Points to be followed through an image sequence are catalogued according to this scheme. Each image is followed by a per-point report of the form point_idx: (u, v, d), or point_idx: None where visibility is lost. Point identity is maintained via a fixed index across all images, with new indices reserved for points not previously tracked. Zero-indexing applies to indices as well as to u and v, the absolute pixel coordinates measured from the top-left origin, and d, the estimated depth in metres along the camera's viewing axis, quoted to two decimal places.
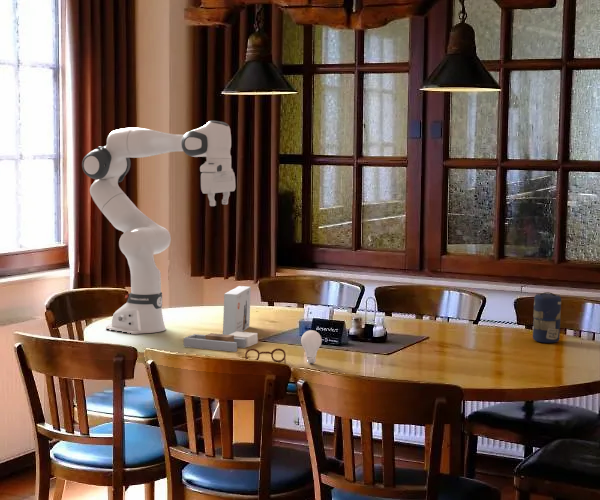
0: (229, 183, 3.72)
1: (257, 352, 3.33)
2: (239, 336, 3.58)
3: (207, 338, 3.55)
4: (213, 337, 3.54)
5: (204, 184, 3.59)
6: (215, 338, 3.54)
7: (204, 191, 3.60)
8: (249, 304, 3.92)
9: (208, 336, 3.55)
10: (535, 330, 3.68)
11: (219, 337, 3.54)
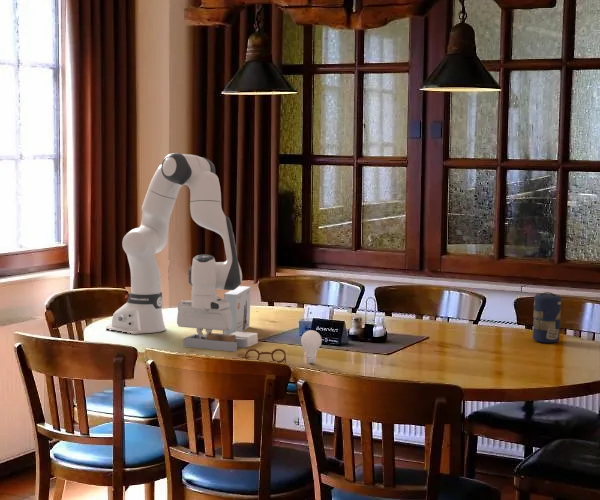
0: None
1: (257, 352, 3.32)
2: (239, 336, 3.58)
3: (208, 338, 3.55)
4: (215, 337, 3.54)
5: (228, 321, 3.53)
6: (216, 337, 3.54)
7: (229, 328, 3.53)
8: (249, 304, 3.92)
9: (209, 336, 3.55)
10: (535, 330, 3.68)
11: (221, 337, 3.53)
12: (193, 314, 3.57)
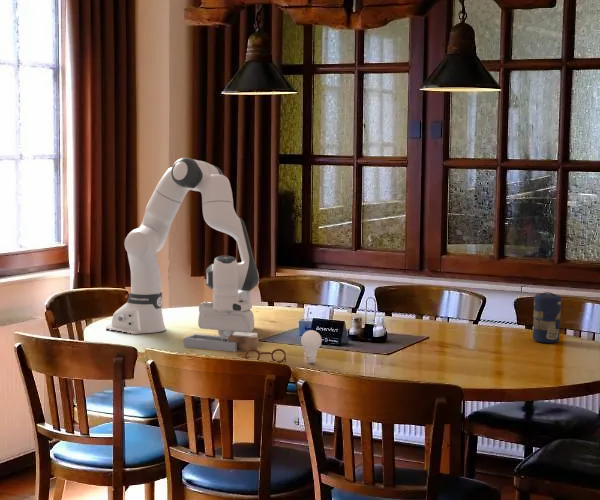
0: None
1: None
2: None
3: (230, 340, 3.52)
4: (236, 339, 3.51)
5: (251, 323, 3.50)
6: (238, 339, 3.51)
7: (251, 330, 3.50)
8: None
9: (231, 338, 3.52)
10: (535, 330, 3.68)
11: (242, 339, 3.50)
12: (215, 316, 3.54)
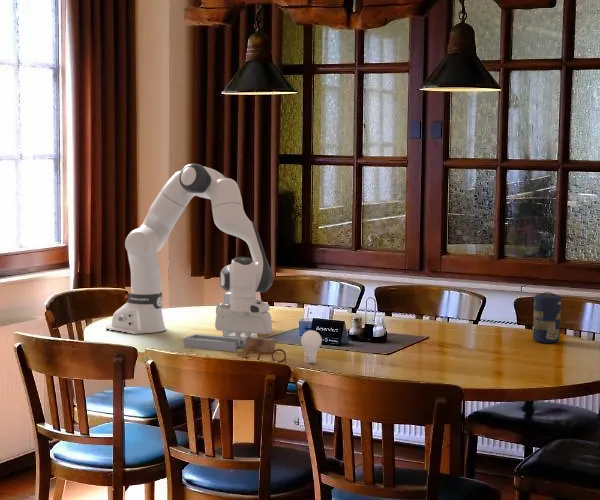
0: None
1: None
2: None
3: (248, 342, 3.49)
4: (254, 341, 3.48)
5: (268, 325, 3.47)
6: (256, 342, 3.48)
7: (268, 332, 3.47)
8: None
9: (249, 340, 3.49)
10: (535, 330, 3.68)
11: (260, 341, 3.47)
12: (232, 318, 3.51)
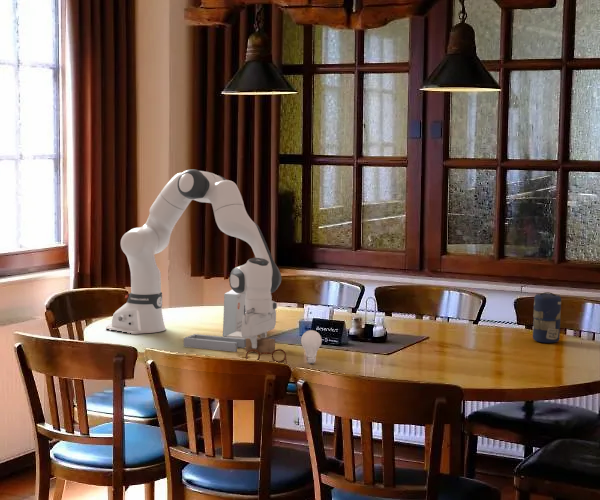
0: None
1: (258, 353, 3.32)
2: (239, 336, 3.58)
3: (248, 342, 3.49)
4: None
5: None
6: None
7: None
8: None
9: (249, 340, 3.49)
10: (535, 330, 3.68)
11: (260, 341, 3.47)
12: (258, 321, 3.46)
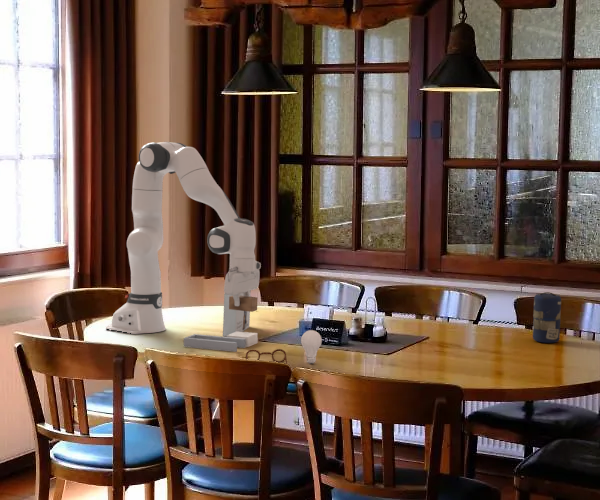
0: None
1: (258, 353, 3.32)
2: (239, 336, 3.58)
3: (231, 299, 3.59)
4: None
5: None
6: None
7: None
8: None
9: (232, 297, 3.59)
10: (535, 330, 3.68)
11: (243, 298, 3.57)
12: (241, 279, 3.55)
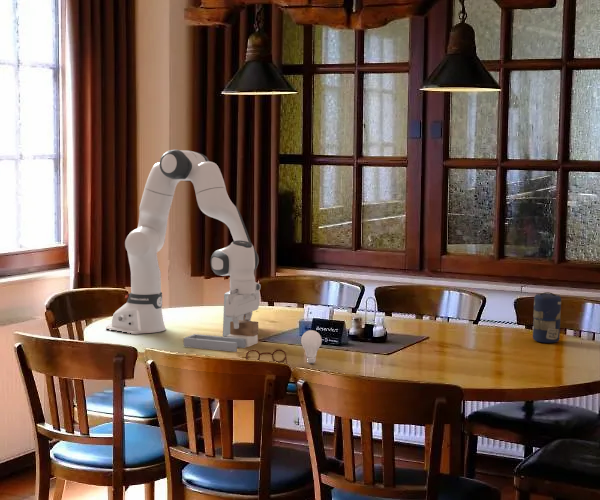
0: None
1: (258, 353, 3.32)
2: (239, 336, 3.58)
3: (232, 324, 3.61)
4: None
5: None
6: (240, 324, 3.60)
7: None
8: None
9: None
10: (535, 330, 3.68)
11: (244, 323, 3.59)
12: (242, 301, 3.57)
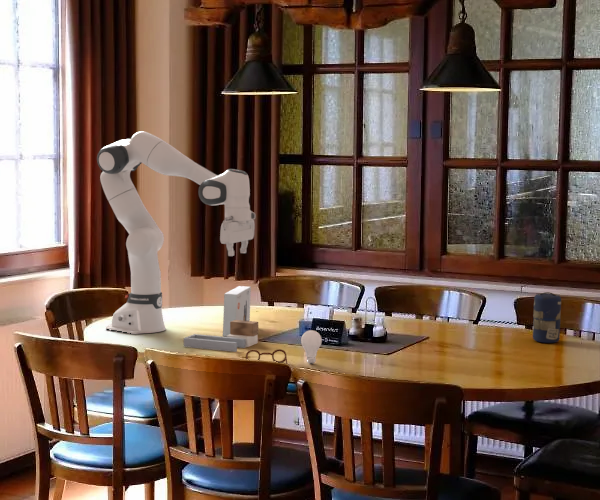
0: None
1: (258, 353, 3.31)
2: (239, 336, 3.58)
3: (232, 324, 3.61)
4: (238, 323, 3.60)
5: None
6: (240, 324, 3.60)
7: None
8: (249, 304, 3.92)
9: (233, 322, 3.61)
10: (535, 330, 3.68)
11: (244, 323, 3.59)
12: (237, 229, 3.59)
